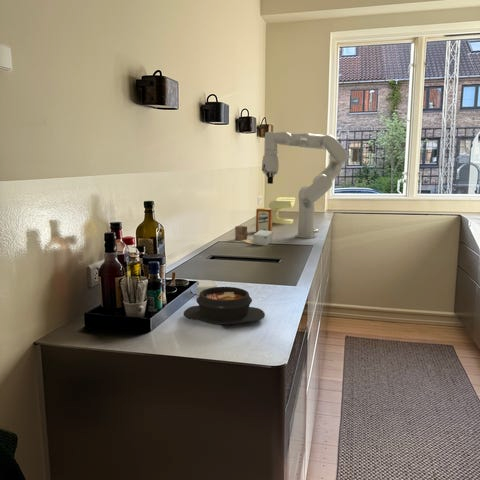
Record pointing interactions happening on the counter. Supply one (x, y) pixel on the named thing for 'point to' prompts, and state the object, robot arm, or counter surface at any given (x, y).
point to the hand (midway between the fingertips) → (270, 183)
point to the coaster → (205, 285)
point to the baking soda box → (264, 219)
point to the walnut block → (241, 233)
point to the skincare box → (263, 237)
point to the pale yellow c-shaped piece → (278, 204)
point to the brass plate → (247, 241)
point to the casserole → (224, 307)
